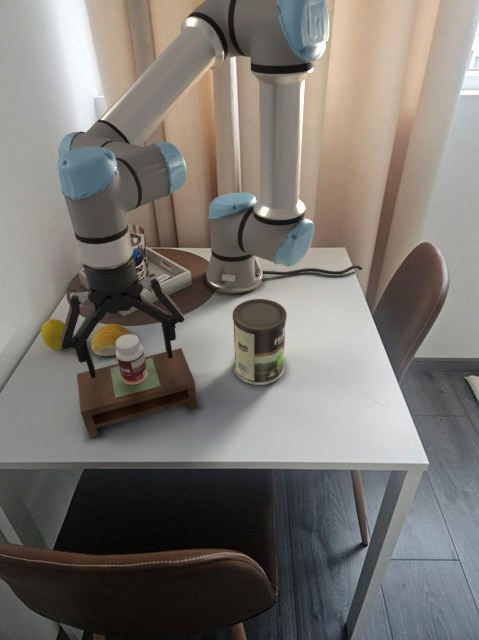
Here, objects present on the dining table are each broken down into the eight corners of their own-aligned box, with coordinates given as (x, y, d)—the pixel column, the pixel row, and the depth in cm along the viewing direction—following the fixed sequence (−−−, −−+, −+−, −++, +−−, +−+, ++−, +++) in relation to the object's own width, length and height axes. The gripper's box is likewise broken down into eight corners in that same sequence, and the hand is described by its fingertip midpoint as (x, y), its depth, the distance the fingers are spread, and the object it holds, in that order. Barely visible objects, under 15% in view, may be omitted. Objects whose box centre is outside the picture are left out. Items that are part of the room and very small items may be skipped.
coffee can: (288, 356, 96) (291, 302, 87) (277, 389, 88) (280, 334, 79) (242, 348, 98) (241, 295, 90) (227, 379, 90) (225, 324, 82)
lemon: (65, 358, 97) (55, 329, 92) (42, 355, 98) (31, 326, 93) (77, 342, 101) (68, 313, 96) (55, 339, 102) (45, 311, 97)
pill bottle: (116, 377, 81) (107, 341, 76) (137, 363, 84) (130, 329, 79) (131, 389, 79) (123, 354, 74) (153, 375, 81) (146, 340, 76)
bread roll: (131, 330, 104) (128, 316, 102) (128, 355, 97) (124, 341, 94) (95, 333, 103) (91, 319, 101) (89, 359, 96) (85, 345, 94)
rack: (184, 373, 92) (181, 347, 88) (197, 407, 84) (194, 380, 80) (85, 399, 87) (76, 372, 82) (89, 438, 79) (80, 411, 75)
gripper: (182, 233, 73) (193, 334, 85) (19, 262, 66) (58, 367, 79) (195, 254, 67) (204, 358, 80) (18, 288, 60) (59, 396, 73)
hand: (132, 363), depth 79 cm, fingers open, 13 cm apart
